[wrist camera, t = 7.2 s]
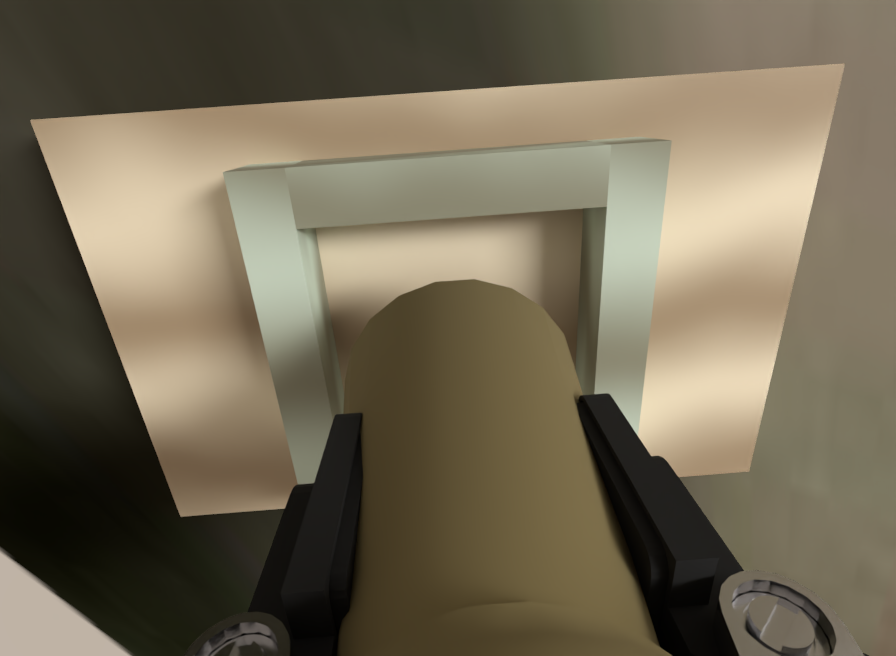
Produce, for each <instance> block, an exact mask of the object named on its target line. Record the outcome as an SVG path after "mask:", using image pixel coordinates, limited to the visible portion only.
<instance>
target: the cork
mask: <svg viewBox="0 0 896 656" xmlns="http://www.w3.org/2000/svg"><path fill="white" fill-rule="evenodd" d="M581 395H583V393H582V390H581V387H580V383H579V380H578V377H577V374H576V370H575V367H574V364H573V361H572V358H571V354H570V351H569V348H568V345H567V342H566V339H565V336H564V333H563V332H562V331H561V330H560V328H559V327H558V326H557V325H556V323H555V322H554V321H553V320H552V318H551V317H550V316H549V315H548V313H547V312H546V311H545V309H544V308H543V307H541V306H540V305H538V304H537V303H535V302H533V301H532V300H530V299H529V298H527V297H525V296H524V295H522V294H521V293H519V292H517V291H516V290H514V289H512V288H509V287H505V286H501V285H497V284H493V283H488V282H484V281H480V280H476V279H469V280H454V281H439V282H433V283H431V284H428V285H425V286H423V287H420V288H418V289H415V290H412V291H410V292H407V293H405V294H402V295H400V296H398V297H397V298H395V299H394V300H393V301H392V302H390V303H389V304H388V305H387V306H386V307H384V308H383V309H382V310H381V311H379V312H378V313H377V314H376V315H374V316H373V317H372V318H371V319H370V320H369V321H368V323H367V325H366V326H365V328H364V329H363V331H362V333H361V334H360V336H359V337H358V339H357V341H356V342H355V344H354V345H353V347H352V349H351V353H350V358H349V363H348V368H347V373H346V377H345V389H344V412H343V414H348V413H360V412H361V413H362V420H361V427H360V433H361V449H362V465H363V483H362V493H361V502H360V512H359V521H358V531H357V541H356V550H355V560H354V569H353V579H352V589H351V598H350V608H349V612H348V613H347V614H346V616H345V617H344V618H343V619H342V622H341V626H340V630H339V634H338V643H337V655H336V656H672V655H671V654H669V653H668V652H666V651H665V650H663V649H662V648H660V645H659V642H658V639H657V635H656V632H655V629H654V626H653V623H652V620H651V617H650V614H649V610H648V607H647V604H646V601H645V598H644V594H643V591H642V588H641V585H640V581H639V578H638V575H637V572H636V569H635V565H634V562H633V559H632V556H631V553H630V551H629V548H628V545H627V543H626V540H625V537H624V535H623V532H622V529H621V527H620V524H619V521H618V519H617V516H616V513H615V510H614V508H613V505H612V502H611V500H610V497H609V494H608V492H607V489H606V486H605V484H604V481H603V478H602V476H601V473H600V470H599V468H598V465H597V462H596V460H595V457H594V454H593V451H592V449H591V446H590V443H589V441H588V438H587V435H586V433H585V430H584V427H583V425H582V422H581V419H580V417H579V413H578V408H577V403H580V402H579V397H580V396H581Z"/></svg>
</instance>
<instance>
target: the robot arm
mask: <svg viewBox="0 0 896 656" xmlns="http://www.w3.org/2000/svg"><path fill="white" fill-rule="evenodd" d="M579 402H580V403H577V408H578V413H579V417H580V419H581V422H582V425H583V427H584V430H585V433H586V435H587V438H588V441H589V443H590V446H591V449H592V451H593V454H594V457H595V460H596V462H597V465H598V468H599V470H600V473H601V476H602V478H603V481H604V484H605V486H606V489H607V492H608V494H609V497H610V500H611V502H612V505H613V508H614V510H615V513H616V516H617V519H618V521H619V524H620V527H621V529H622V532H623V535H624V537H625V540H626V543H627V545H628V548H629V551H630V553H631V556H632V559H633V562H634V565H635V569H636V572H637V575H638V578H639V581H640V585H641V588H642V591H643V594H644V598H645V601H646V604H647V607H648V610H649V614H650V617H651V620H652V623H653V626H654V629H655V632H656V635H657V639H658V642H659V645H660V648H662V649H663V650H665V651H666V652H668V653H669V654H671V655H672V656H868V655H866V654H864V653H862V651H861V650H860V648H859V646H858V645H857V643H856V642H855V640H854V638H853V637H852V635H851V634H850V632H849V631H848V629H847V627H846V626H845V624H844V623H843V621H842V620H841V619H840V618H839V616H838V615H837V614H836V613H835V611H834V610H833V609H832V608H831V606H830V605H828V604H827V603H826V602H825V601H824V600H822V599H821V598H820V597H819V596H818V595H817V594H815V593H814V592H813V591H811V590H809V589H808V588H806V587H804V586H803V585H801V584H799V583H798V582H796V581H794V580H791V579H789V578H786V577H784V576H781V575H778V574H776V573H770V572H765V571H759V570H753V571H744V570H743V569H742V567H741V566H740V565H739V563H738V562H737V560H736V559H735V557H734V556H733V555H732V553H731V552H730V550H729V549H728V547H727V546H726V545H725V543H724V542H723V540H722V539H721V537H720V536H719V535H718V533H717V532H716V530H715V529H714V527H713V526H712V525H711V523H710V522H709V520H708V519H707V517H706V516H705V515H704V513H703V512H702V510H701V509H700V507H699V506H698V505H697V503H696V502H695V500H694V499H693V497H692V496H691V495H690V493H689V492H688V490H687V489H686V487H685V486H684V485H683V483H682V482H681V480H680V479H679V477H678V476H677V475H676V473H675V472H674V470H673V469H672V467H671V466H670V465H669V463H668V462H667V461H666V460H665V459H664V458H663V457H661V456H651V455H650V454H649V452H648V451H647V449H646V448H645V446H644V445H643V443H642V442H641V440H640V439H639V437H638V436H637V434H636V432H635V431H634V429H633V428H632V426H631V425H630V423H629V422H628V420H627V419H626V417H625V416H624V414H623V413H622V411H621V410H620V408H619V407H618V405H617V404H616V402H615V401H614V399H613V398H612V396H611V395H610V394H608V393H604V394H591V395H581V396H580V397H579ZM361 420H362V413H361V412H360V413H348V414H336V415H335V417H334V419H333V423H332V426H331V429H330V432H329V436H328V439H327V442H326V446H325V449H324V452H323V455H322V459H321V462H320V465H319V469H318V472H317V475H316V478H315V482H314V483H310V484H298V485H295V486H294V487H293V489H292V491H291V493H290V496H289V499H288V501H287V504H286V507H285V510H284V512H283V515H282V518H281V521H280V524H279V526H278V529H277V532H276V535H275V538H274V540H273V543H272V546H271V549H270V552H269V554H268V557H267V560H266V563H265V565H264V568H263V571H262V574H261V577H260V579H259V582H258V585H257V588H256V591H255V593H254V596H253V599H252V602H251V605H250V607H249V610H248V612H247V613H240V614H238V615H235V616H232V617H229V618H227V619H224V620H222V621H221V622H219V623H218V624H216V625H214V626H213V627H211V628H209V629H208V630H207V631H206V632H204V633H203V634H202V635H201V636H200V637H199V638H198V639H197V640H196V641H195V642H194V643H193V644H192V645H191V646H190V647H189V649H188V650H187V652H186V653H185V654H184V656H336V655H337V643H338V634H339V630H340V626H341V622H342V619H343V618H344V617H345V616H346V614H347V613H348V612H349V608H350V598H351V589H352V579H353V569H354V560H355V550H356V541H357V531H358V521H359V512H360V502H361V493H362V483H363V465H362V449H361V433H360V427H361Z"/></svg>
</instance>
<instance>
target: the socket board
mask: <svg viewBox="0 0 896 656" xmlns="http://www.w3.org/2000/svg"><path fill="white" fill-rule="evenodd" d="M844 66H845V64H831V65H816V66H802V67H788V68H773V69H759V70H744V71H730V72H715V73H701V74H687V75H672V76H658V77H643V78H629V79H614V80H600V81H586V82H571V83H557V84H542V85H528V86H513V87H499V88H485V89H470V90H456V91H441V92H427V93H412V94H398V95H384V96H369V97H355V98H340V99H326V100H311V101H297V102H283V103H268V104H254V105H239V106H225V107H210V108H196V109H182V110H167V111H153V112H138V113H124V114H109V115H95V116H81V117H66V118H52V119H37V120H30V121H31V124H32V126H33V129H34V132H35V134H36V137H37V140H38V142H39V145H40V148H41V150H42V153H43V155H44V158H45V161H46V163H47V166H48V169H49V171H50V174H51V177H52V179H53V182H54V184H55V187H56V190H57V192H58V195H59V198H60V200H61V203H62V206H63V208H64V211H65V213H66V216H67V219H68V221H69V224H70V227H71V229H72V232H73V235H74V237H75V240H76V242H77V245H78V248H79V250H80V253H81V256H82V258H83V261H84V264H85V266H86V269H87V271H88V274H89V277H90V279H91V282H92V285H93V287H94V290H95V293H96V295H97V298H98V300H99V303H100V306H101V308H102V311H103V314H104V316H105V319H106V322H107V324H108V327H109V329H110V332H111V335H112V337H113V340H114V343H115V345H116V348H117V351H118V353H119V356H120V358H121V361H122V364H123V366H124V369H125V372H126V374H127V377H128V380H129V382H130V385H131V387H132V390H133V393H134V395H135V398H136V401H137V403H138V406H139V409H140V411H141V414H142V417H143V419H144V422H145V424H146V427H147V430H148V432H149V435H150V438H151V440H152V443H153V446H154V448H155V451H156V453H157V456H158V459H159V461H160V464H161V467H162V469H163V472H164V475H165V477H166V480H167V482H168V485H169V488H170V490H171V493H172V496H173V498H174V501H175V504H176V506H177V509H178V511H179V514H180V517H183V516H196V515H208V514H221V513H233V512H246V511H258V510H271V509H284V508H285V507H286V504H287V501H288V499H289V496H290V493H291V491H292V489H293V487H294V486H295V485H298V484H310V483H314V482H315V478H316V475H317V472H318V469H319V465H320V462H321V459H322V455H323V452H324V449H325V446H326V442H327V439H328V436H329V432H330V429H331V426H332V423H333V419H334V417H335V415H336V414H343V412H344V389H345V377H346V373H347V368H348V363H349V358H350V353H351V349H352V347H353V345H354V344H355V342H356V341H357V339H358V337H359V336H360V334H361V333H362V331H363V329H364V328H365V326H366V325H367V323H368V321H369V320H370V319H371V318H372V317H373V316H374V315H376V314H377V313H378V312H379V311H381V310H382V309H383V308H384V307H386V306H387V305H388V304H389V303H390V302H392V301H393V300H394V299H395V298H397V297H398V296H400V295H402V294H405V293H407V292H410V291H412V290H415V289H418V288H420V287H423V286H425V285H428V284H431V283H433V282H439V281H454V280H469V279H476V280H480V281H484V282H488V283H493V284H497V285H501V286H505V287H509V288H512V289H514V290H516V291H517V292H519V293H521V294H522V295H524V296H525V297H527V298H529V299H530V300H532V301H533V302H535V303H537V304H538V305H540V306H541V307H543V308H544V309H545V311H546V312H547V313H548V315H549V316H550V317H551V318H552V320H553V321H554V322H555V323H556V325H557V326H558V327H559V328H560V330H561V331H562V332H563V333H564V336H565V339H566V342H567V345H568V348H569V351H570V354H571V358H572V361H573V364H574V367H575V370H576V374H577V377H578V380H579V383H580V387H581V390H582V393H583V395H591V394H604V393H608V394H610V395H611V396H612V398H613V399H614V401H615V402H616V404H617V405H618V407H619V408H620V410H621V411H622V413H623V414H624V416H625V417H626V419H627V420H628V422H629V423H630V425H631V426H632V428H633V429H634V431H635V432H636V434H637V436H638V437H639V439H640V440H641V442H642V443H643V445H644V446H645V448H646V449H647V451H648V452H649V454H650V455H651V456H661V457H663V458H664V459H665V460H666V461H667V462H668V463H669V465H670V466H671V467H672V469H673V470H674V472H675V473H676V475H677V476H678V477H685V476H698V475H710V474H723V473H735V472H748V471H749V469H750V465H751V461H752V456H753V452H754V448H755V444H756V439H757V435H758V431H759V427H760V422H761V418H762V414H763V410H764V406H765V401H766V397H767V393H768V389H769V384H770V380H771V376H772V372H773V367H774V363H775V359H776V355H777V350H778V346H779V342H780V338H781V333H782V329H783V325H784V321H785V316H786V312H787V308H788V304H789V299H790V295H791V291H792V287H793V282H794V278H795V274H796V270H797V265H798V261H799V257H800V253H801V248H802V244H803V240H804V236H805V231H806V227H807V223H808V219H809V215H810V210H811V206H812V202H813V198H814V193H815V189H816V185H817V181H818V176H819V172H820V168H821V164H822V159H823V155H824V151H825V147H826V142H827V138H828V134H829V130H830V125H831V121H832V117H833V113H834V108H835V104H836V100H837V96H838V91H839V87H840V83H841V79H842V74H843V70H844Z"/></svg>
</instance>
